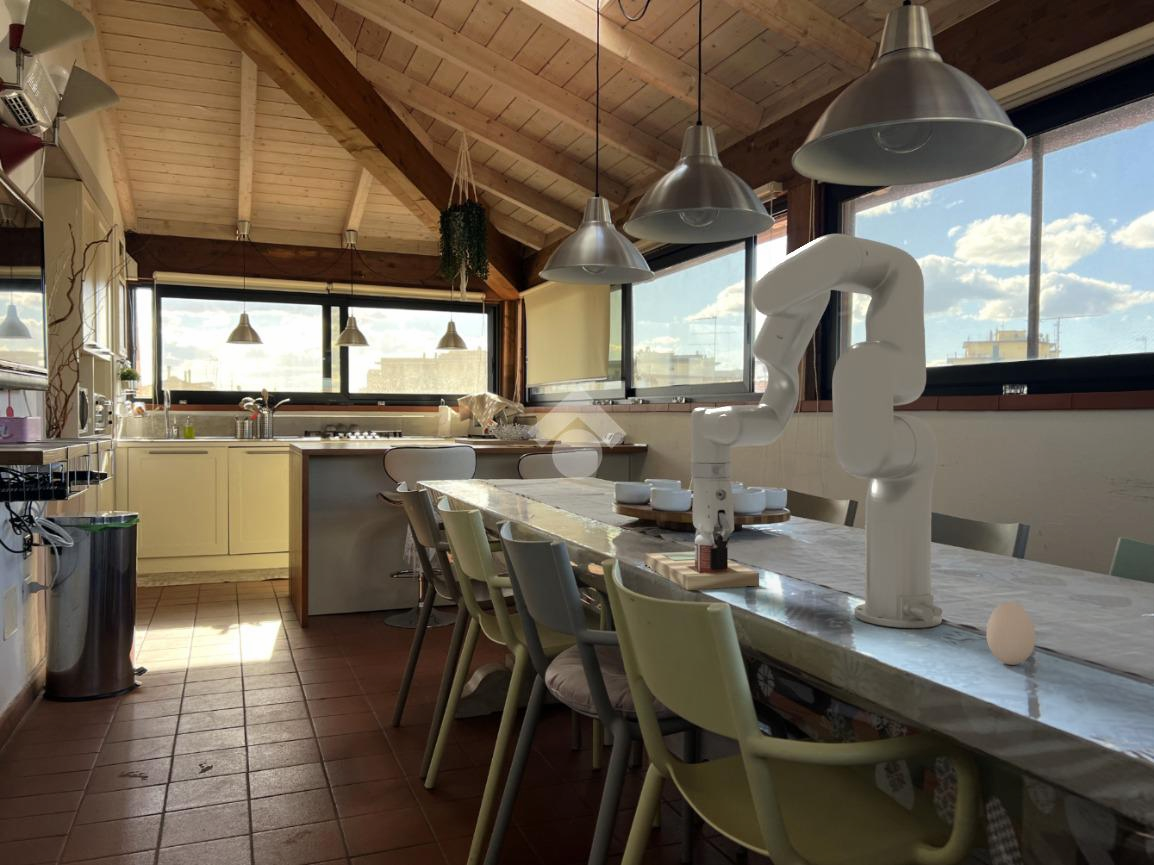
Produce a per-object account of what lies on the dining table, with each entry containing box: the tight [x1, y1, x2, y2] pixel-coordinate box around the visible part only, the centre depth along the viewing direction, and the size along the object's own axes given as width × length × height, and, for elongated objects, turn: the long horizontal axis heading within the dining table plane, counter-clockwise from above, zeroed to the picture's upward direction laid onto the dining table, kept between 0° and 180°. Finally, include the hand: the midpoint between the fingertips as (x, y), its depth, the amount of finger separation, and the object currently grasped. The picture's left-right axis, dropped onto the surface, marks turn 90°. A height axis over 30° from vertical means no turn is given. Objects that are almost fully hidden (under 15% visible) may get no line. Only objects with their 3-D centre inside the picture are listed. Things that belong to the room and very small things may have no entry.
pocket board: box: [643, 550, 760, 591], centre depth 165 cm, size 26×14×3 cm, turn 13°
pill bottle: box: [694, 524, 728, 573], centre depth 158 cm, size 6×6×11 cm
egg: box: [986, 601, 1036, 666], centre depth 106 cm, size 6×6×8 cm
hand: (711, 564), depth 158 cm, fingers open, 6 cm apart
